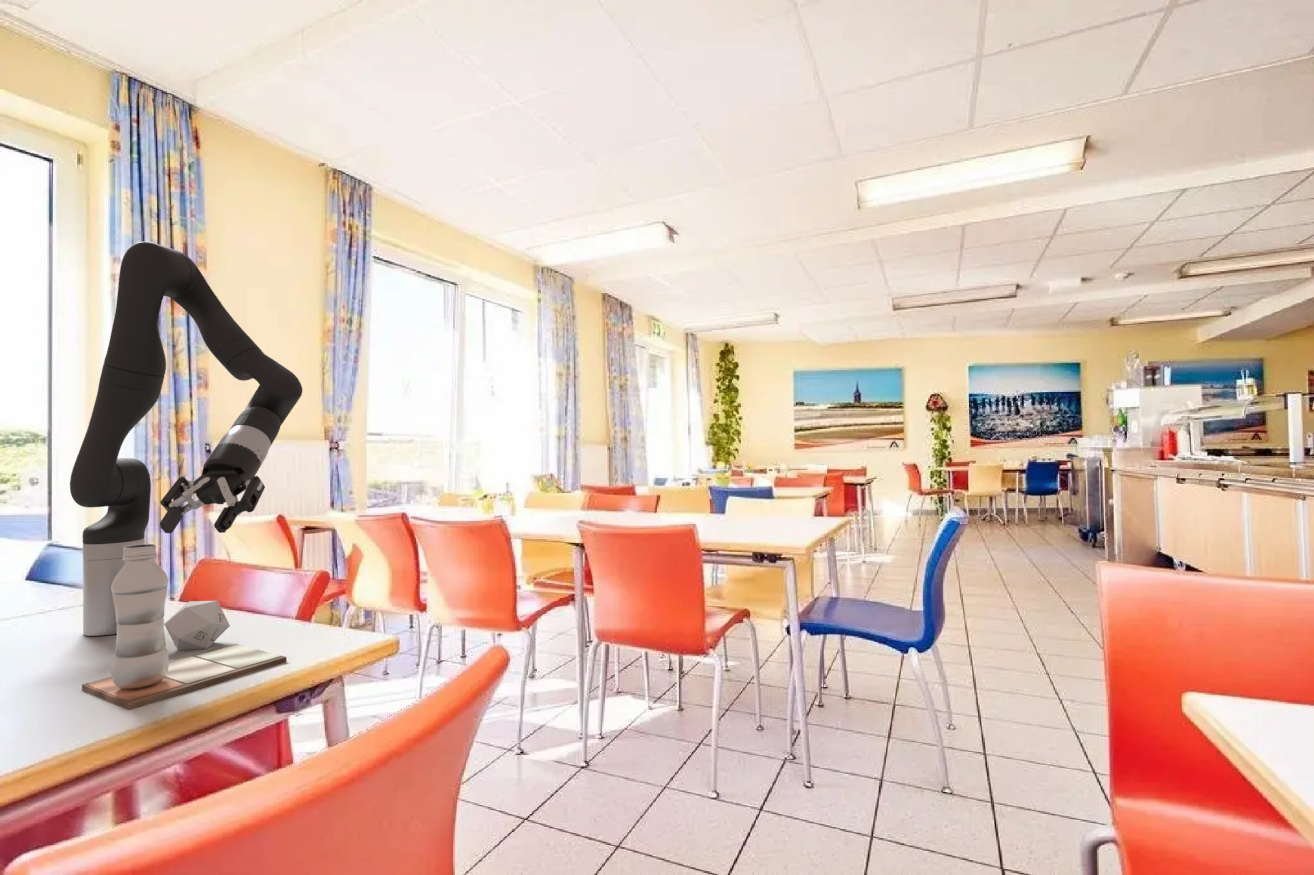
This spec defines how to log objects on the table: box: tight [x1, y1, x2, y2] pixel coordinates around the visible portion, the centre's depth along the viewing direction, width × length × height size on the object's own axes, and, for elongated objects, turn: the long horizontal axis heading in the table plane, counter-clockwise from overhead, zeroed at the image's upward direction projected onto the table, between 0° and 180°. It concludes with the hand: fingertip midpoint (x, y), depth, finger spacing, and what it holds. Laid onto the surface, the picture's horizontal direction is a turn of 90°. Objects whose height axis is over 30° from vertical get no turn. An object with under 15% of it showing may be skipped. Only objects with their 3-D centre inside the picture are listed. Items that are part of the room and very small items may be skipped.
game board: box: [81, 643, 287, 710], centre depth 98 cm, size 15×21×1 cm
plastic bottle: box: [110, 543, 170, 689], centre depth 91 cm, size 6×7×20 cm
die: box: [164, 600, 231, 651], centre depth 113 cm, size 8×9×10 cm
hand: (192, 530), depth 102 cm, fingers open, 8 cm apart
